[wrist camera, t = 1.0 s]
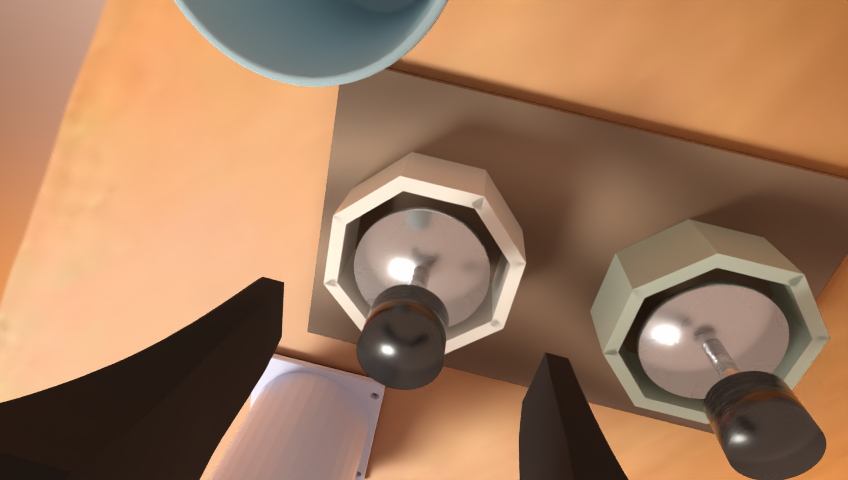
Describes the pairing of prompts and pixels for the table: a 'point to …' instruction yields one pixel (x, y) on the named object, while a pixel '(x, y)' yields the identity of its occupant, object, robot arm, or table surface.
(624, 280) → the housing
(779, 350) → the plunger
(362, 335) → the plunger
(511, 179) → the board
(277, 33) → the cup
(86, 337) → the table surface
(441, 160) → the housing
